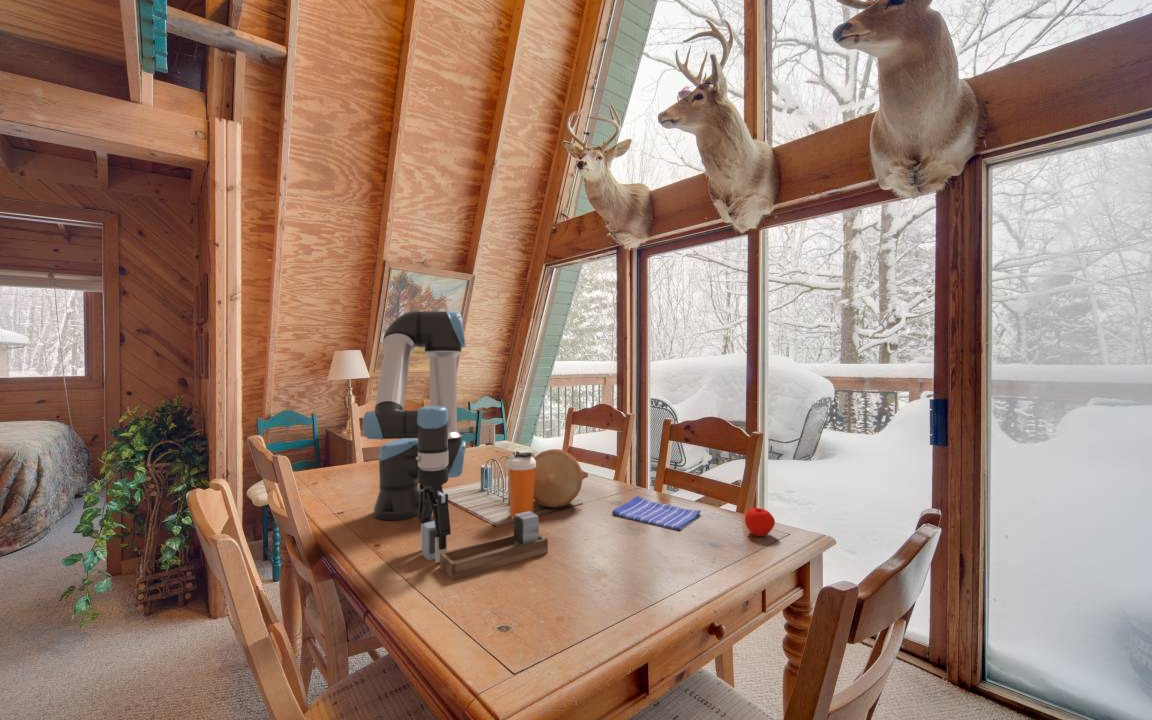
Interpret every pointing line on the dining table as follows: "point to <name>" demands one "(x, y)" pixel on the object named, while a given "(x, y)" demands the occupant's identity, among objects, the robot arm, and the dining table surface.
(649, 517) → the dish towel
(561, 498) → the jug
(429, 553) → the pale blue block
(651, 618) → the dining table surface
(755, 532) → the apple
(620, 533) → the dining table surface
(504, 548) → the rail
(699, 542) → the dining table surface
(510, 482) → the shaker bottle
